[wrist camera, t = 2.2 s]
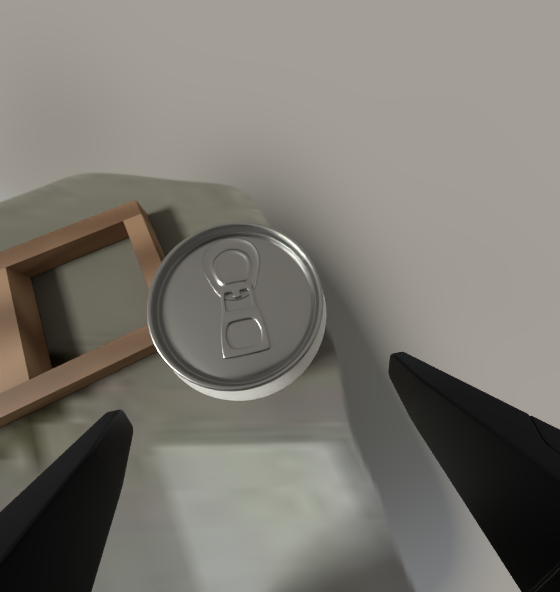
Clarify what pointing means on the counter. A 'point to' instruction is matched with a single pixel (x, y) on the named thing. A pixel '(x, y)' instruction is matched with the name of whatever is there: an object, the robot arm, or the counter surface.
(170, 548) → the counter surface
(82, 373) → the wooden tray frame
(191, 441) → the counter surface
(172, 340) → the can
